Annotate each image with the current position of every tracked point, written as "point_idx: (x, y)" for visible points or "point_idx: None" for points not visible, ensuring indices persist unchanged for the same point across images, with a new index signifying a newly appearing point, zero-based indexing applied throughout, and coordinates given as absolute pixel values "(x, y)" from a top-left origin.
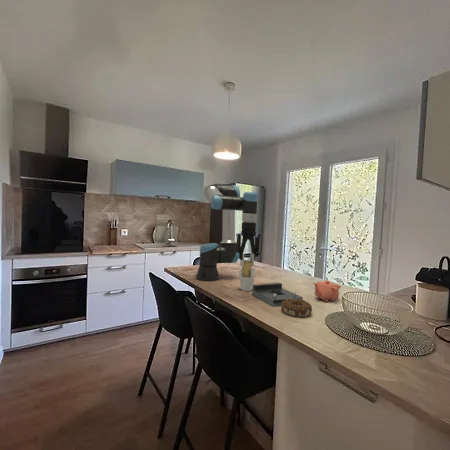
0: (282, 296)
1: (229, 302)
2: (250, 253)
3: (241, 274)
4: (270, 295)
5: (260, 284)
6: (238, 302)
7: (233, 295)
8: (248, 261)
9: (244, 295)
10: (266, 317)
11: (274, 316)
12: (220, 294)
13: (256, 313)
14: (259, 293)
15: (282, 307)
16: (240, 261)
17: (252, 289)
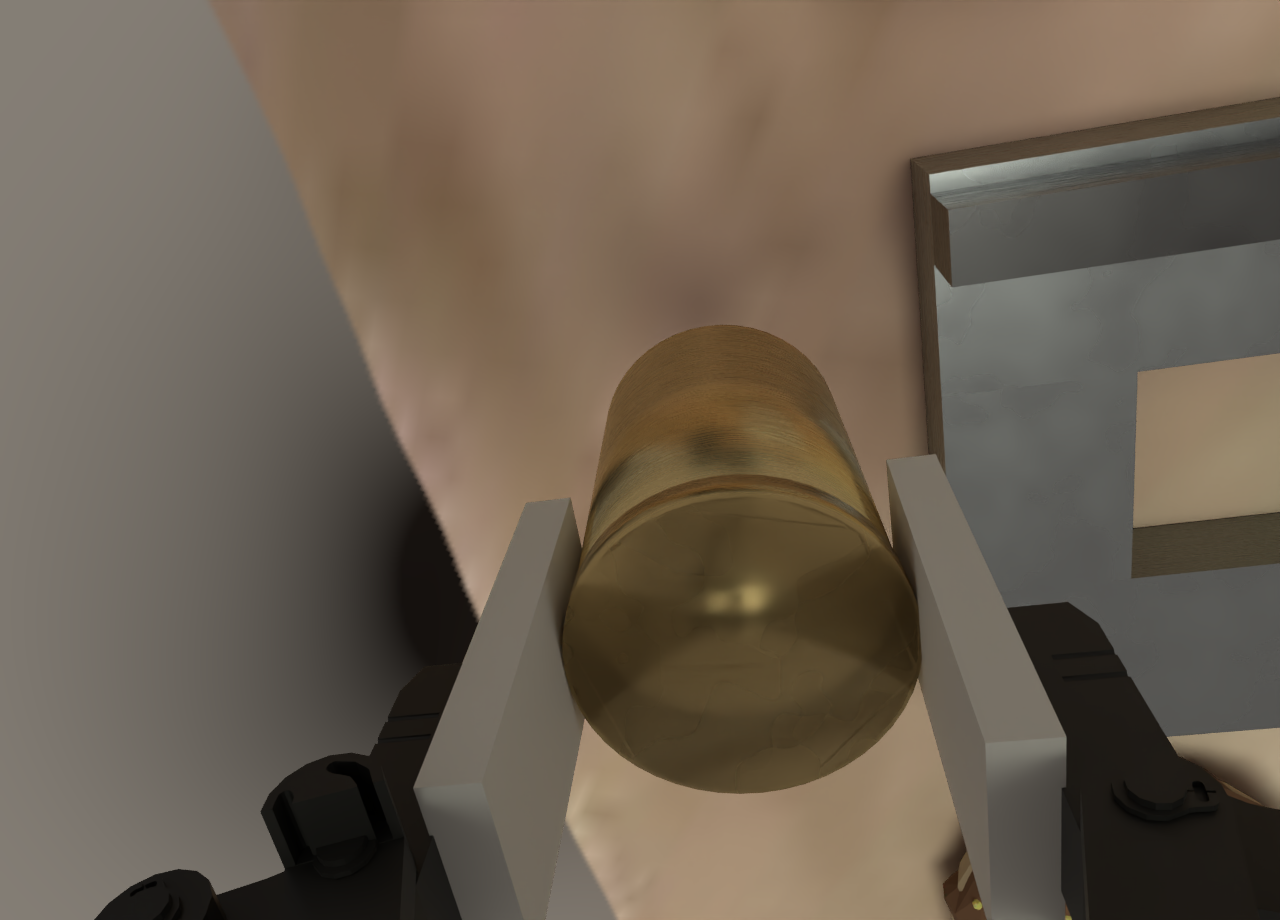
0: (1225, 633)
1: (422, 480)
2: (981, 746)
3: (608, 415)
4: (1060, 565)
5: (1153, 180)
6: (547, 498)
7: (555, 169)
8: (759, 710)
9: (751, 192)
10: (707, 915)
11: (800, 911)
12: (335, 82)
13: (648, 826)
14: (941, 429)
15: (950, 909)
16: (499, 582)
17: (929, 187)
